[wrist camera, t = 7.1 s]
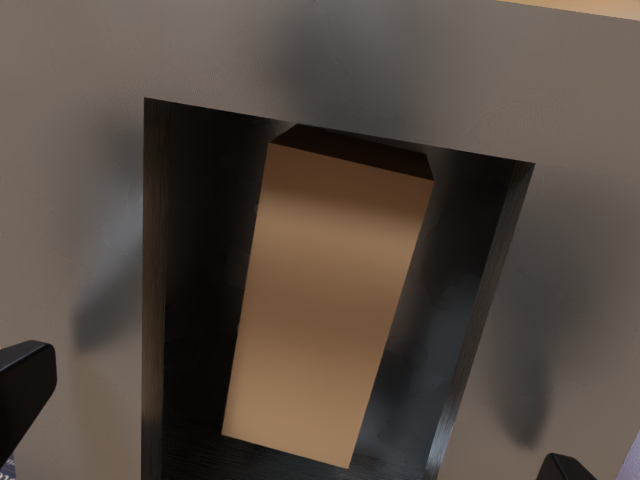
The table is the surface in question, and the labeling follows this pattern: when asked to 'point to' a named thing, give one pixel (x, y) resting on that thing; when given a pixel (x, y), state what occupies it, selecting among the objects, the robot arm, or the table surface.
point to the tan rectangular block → (322, 289)
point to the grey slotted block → (241, 212)
